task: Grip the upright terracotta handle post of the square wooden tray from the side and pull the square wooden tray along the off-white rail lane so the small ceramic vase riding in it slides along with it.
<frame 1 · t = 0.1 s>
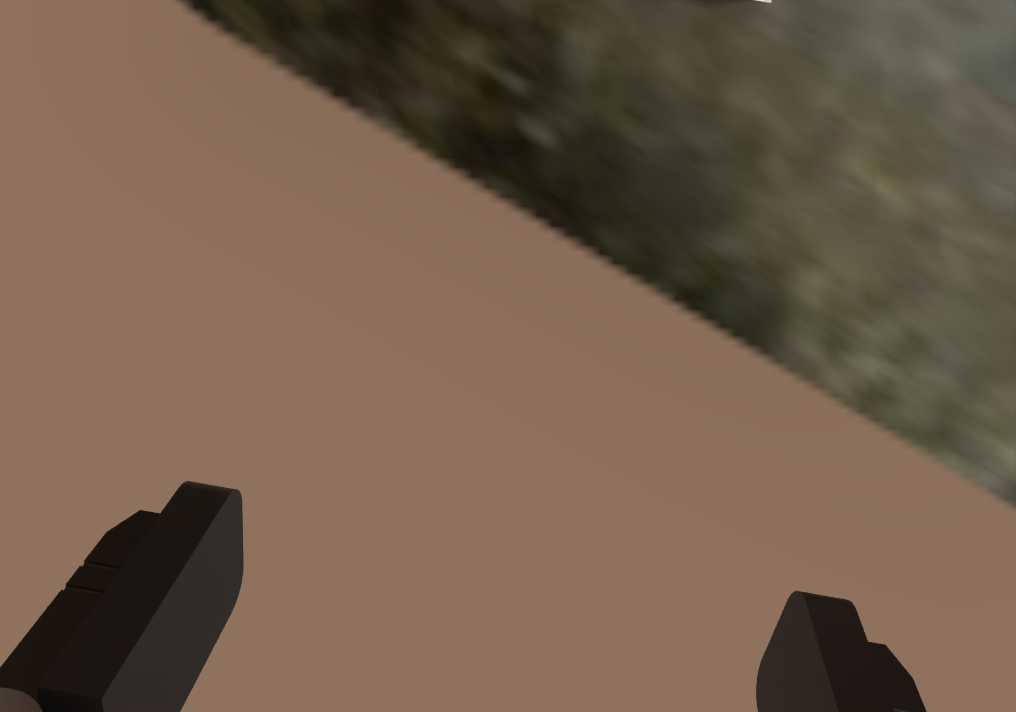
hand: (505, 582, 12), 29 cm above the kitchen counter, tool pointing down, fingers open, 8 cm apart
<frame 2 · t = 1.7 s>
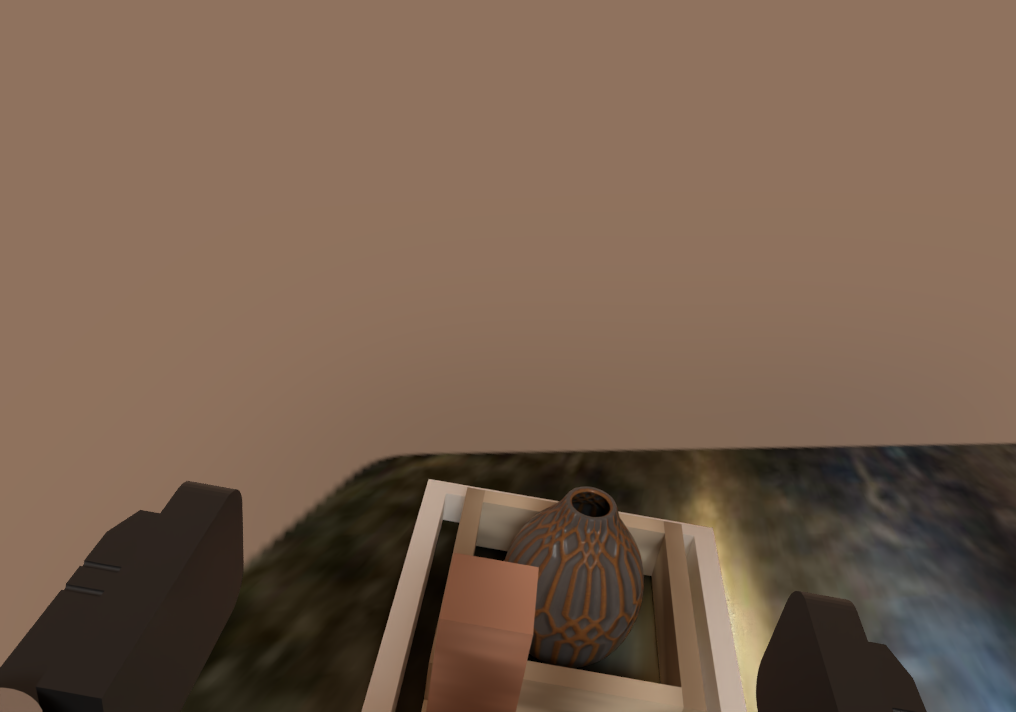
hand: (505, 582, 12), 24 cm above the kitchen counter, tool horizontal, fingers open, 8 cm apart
square wooden tray: (580, 584, 36), point 6 cm above the kitchen counter, slide at 0.0 cm
vase: (558, 637, 42), resting in square wooden tray
rail lane: (556, 691, 39), on the kitchen counter
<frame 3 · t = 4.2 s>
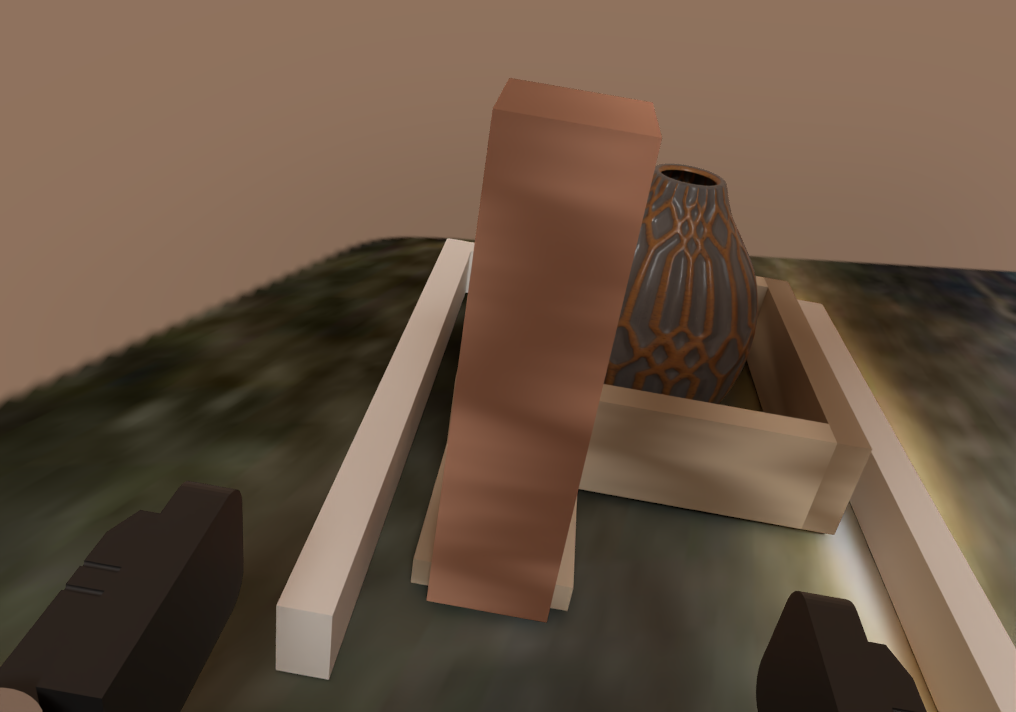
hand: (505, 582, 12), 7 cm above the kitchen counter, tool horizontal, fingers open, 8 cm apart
square wooden tray: (677, 278, 25), point 6 cm above the kitchen counter, slide at 0.0 cm
vase: (628, 409, 30), resting in square wooden tray
rail lane: (633, 459, 27), on the kitchen counter
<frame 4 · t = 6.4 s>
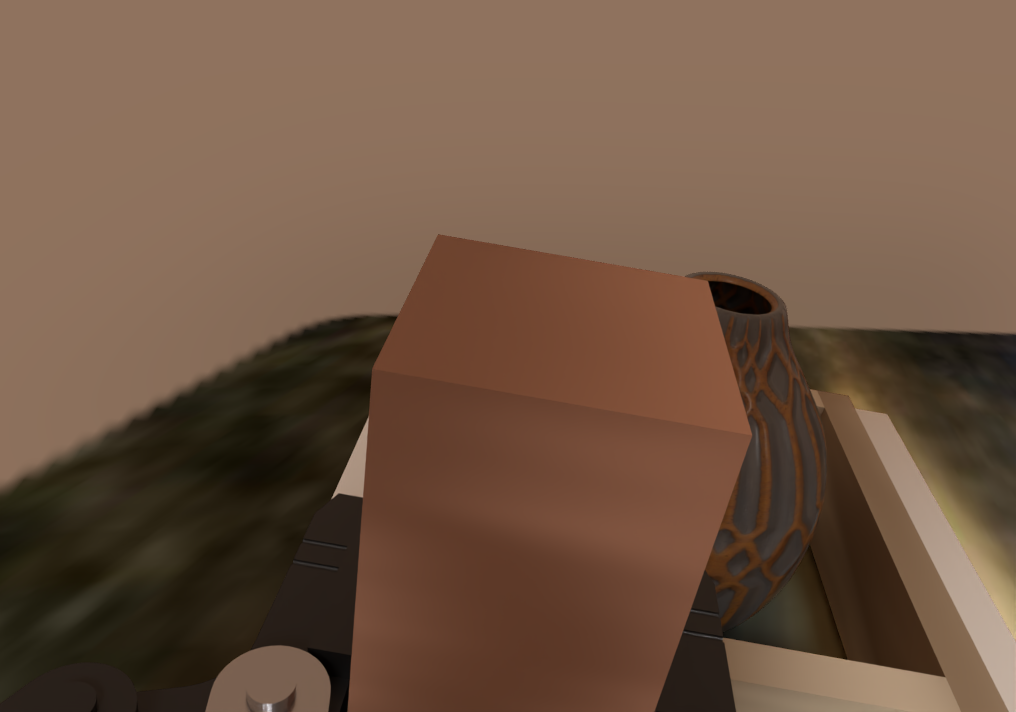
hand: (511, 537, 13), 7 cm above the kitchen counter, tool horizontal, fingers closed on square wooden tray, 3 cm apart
square wooden tray: (719, 453, 17), point 6 cm above the kitchen counter, slide at 0.0 cm, touching gripper
vase: (642, 586, 22), resting in square wooden tray
rail lane: (651, 686, 19), on the kitchen counter
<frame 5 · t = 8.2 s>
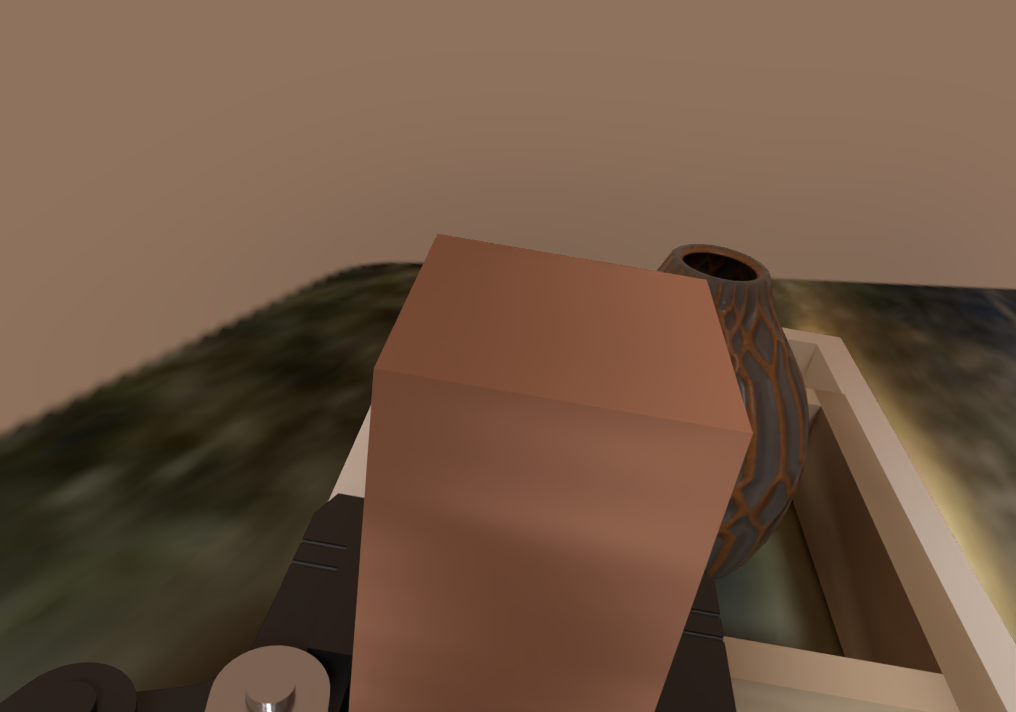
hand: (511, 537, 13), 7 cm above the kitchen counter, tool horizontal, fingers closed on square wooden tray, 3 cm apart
square wooden tray: (716, 452, 17), point 6 cm above the kitchen counter, slide at 5.6 cm, touching gripper, vase
vase: (638, 543, 24), resting in square wooden tray
rail lane: (638, 527, 24), on the kitchen counter
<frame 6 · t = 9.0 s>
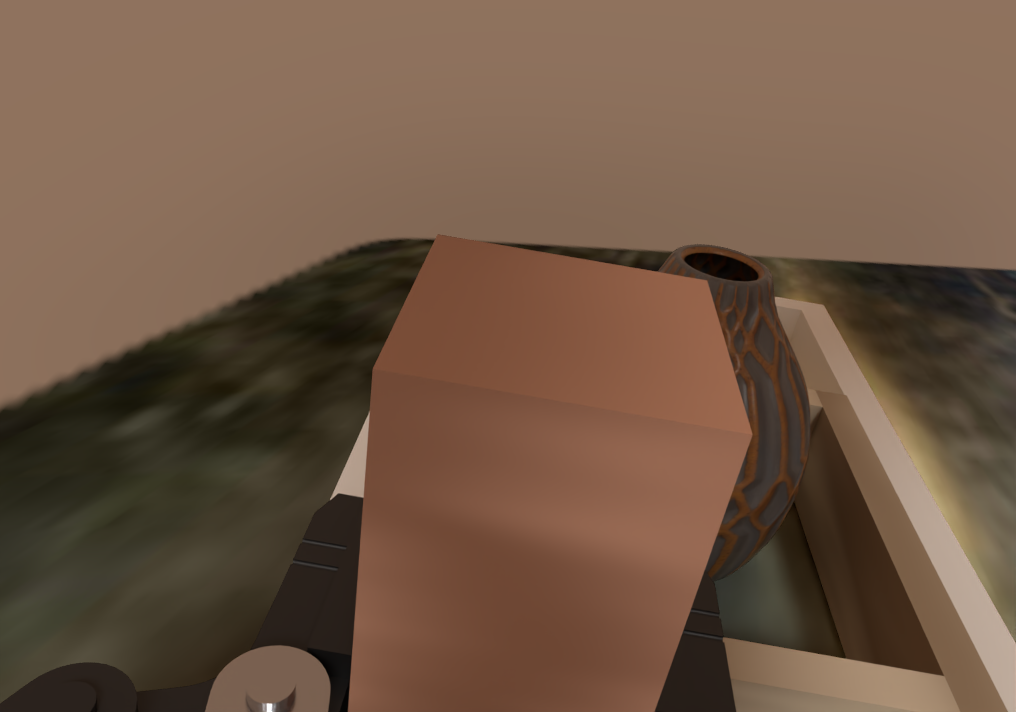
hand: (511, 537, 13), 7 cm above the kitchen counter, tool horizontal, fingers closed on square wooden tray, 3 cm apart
square wooden tray: (718, 453, 17), point 6 cm above the kitchen counter, slide at 8.8 cm, touching gripper, vase
vase: (639, 544, 24), resting in square wooden tray
rail lane: (635, 464, 27), on the kitchen counter
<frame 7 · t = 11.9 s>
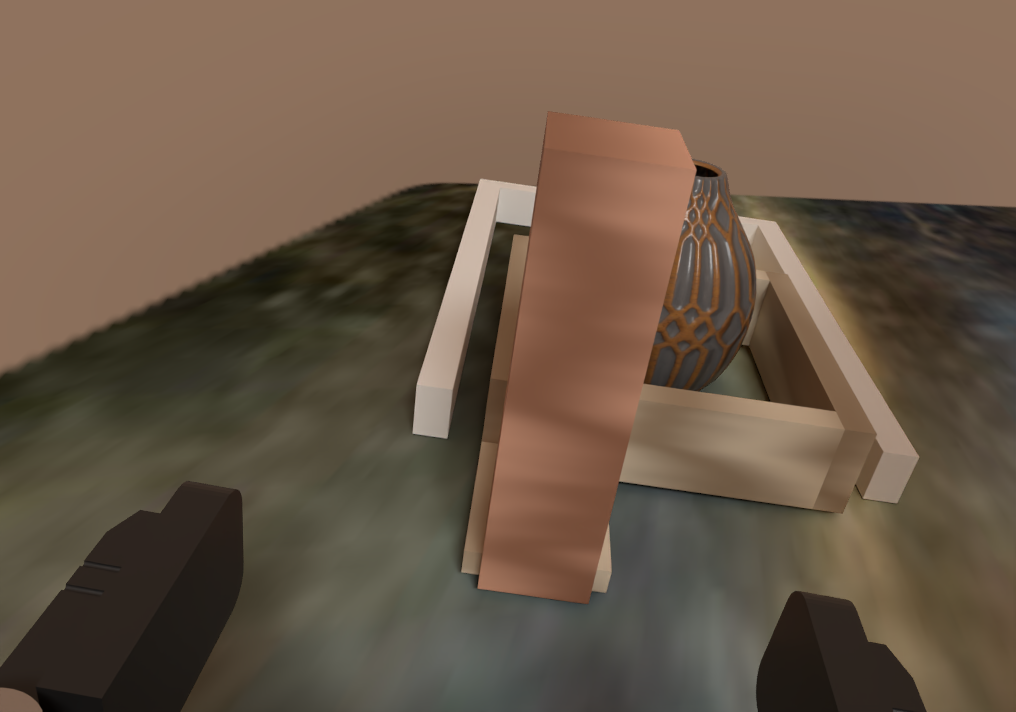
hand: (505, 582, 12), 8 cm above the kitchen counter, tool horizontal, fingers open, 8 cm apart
square wooden tray: (692, 279, 27), point 6 cm above the kitchen counter, slide at 9.4 cm
vase: (640, 379, 34), resting in square wooden tray
rail lane: (634, 326, 37), on the kitchen counter
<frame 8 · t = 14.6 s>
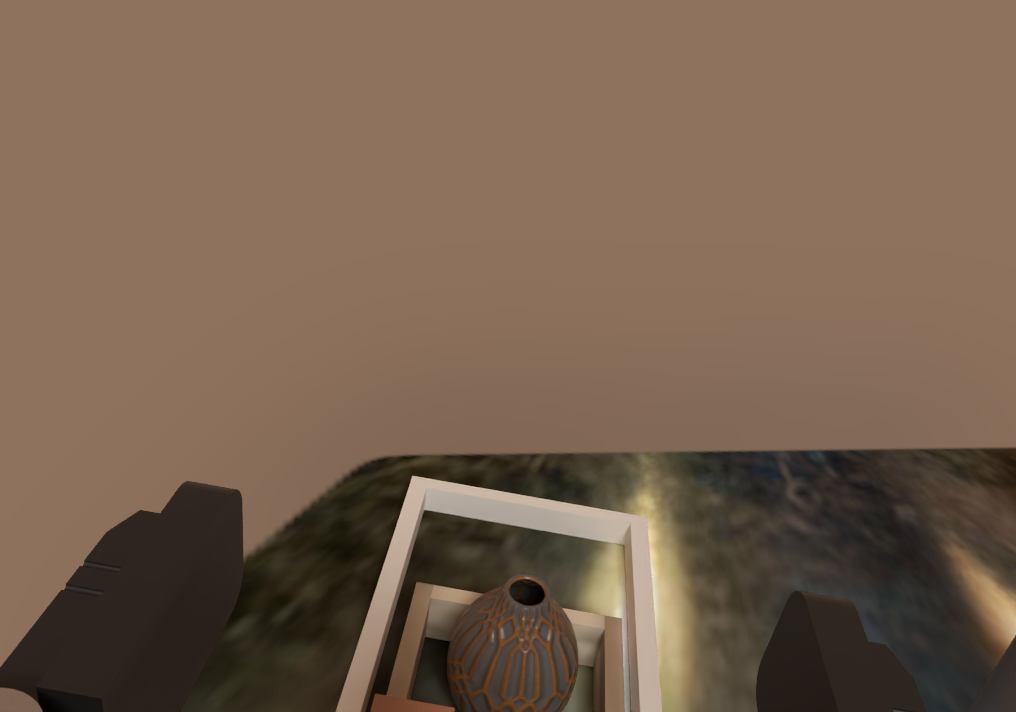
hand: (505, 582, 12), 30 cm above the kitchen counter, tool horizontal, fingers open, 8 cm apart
square wooden tray: (512, 695, 38), point 6 cm above the kitchen counter, slide at 9.4 cm
vase: (502, 707, 45), resting in square wooden tray
rail lane: (510, 643, 49), on the kitchen counter
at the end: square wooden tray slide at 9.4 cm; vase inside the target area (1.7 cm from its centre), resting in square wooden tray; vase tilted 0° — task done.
